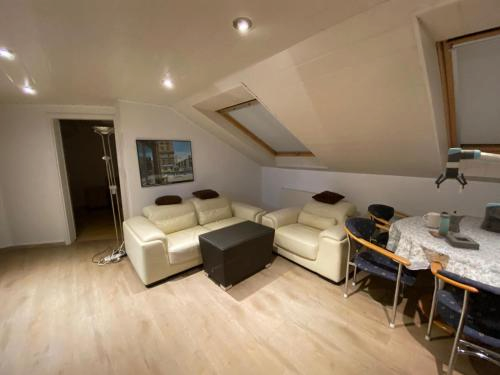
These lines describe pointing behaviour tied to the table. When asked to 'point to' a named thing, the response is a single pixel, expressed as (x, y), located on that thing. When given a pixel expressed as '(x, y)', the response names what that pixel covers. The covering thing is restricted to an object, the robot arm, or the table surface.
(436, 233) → the pad
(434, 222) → the mug
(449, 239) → the housing
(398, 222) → the table surface
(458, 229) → the coffeepot
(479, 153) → the robot arm
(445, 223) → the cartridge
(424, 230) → the table surface
